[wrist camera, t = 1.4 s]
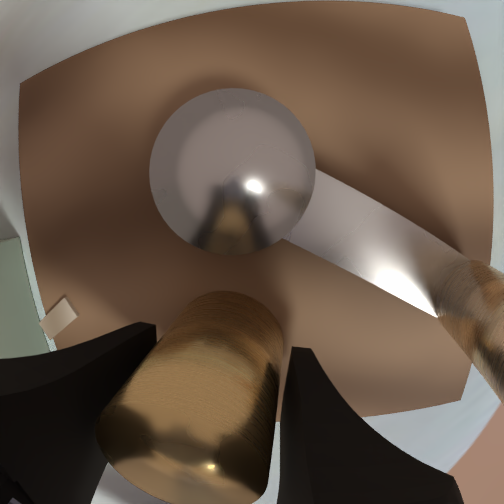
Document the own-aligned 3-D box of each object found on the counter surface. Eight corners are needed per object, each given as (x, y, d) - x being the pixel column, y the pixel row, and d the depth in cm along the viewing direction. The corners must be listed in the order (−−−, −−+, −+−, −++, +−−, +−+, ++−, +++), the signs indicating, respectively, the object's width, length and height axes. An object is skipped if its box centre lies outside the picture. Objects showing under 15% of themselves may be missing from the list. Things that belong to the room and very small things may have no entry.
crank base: (453, 387, 12) (462, 402, 11) (77, 385, 15) (66, 397, 13) (454, 26, 8) (466, 15, 7) (26, 90, 11) (10, 87, 10)
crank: (154, 205, 10) (16, 246, 4) (207, 84, 9) (105, -5, 3) (437, 344, 10) (510, 457, 4) (495, 242, 9) (614, 301, 3)
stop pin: (285, 384, 11) (271, 516, 6) (187, 381, 12) (127, 494, 6) (280, 288, 11) (261, 412, 5) (168, 291, 11) (70, 388, 5)
